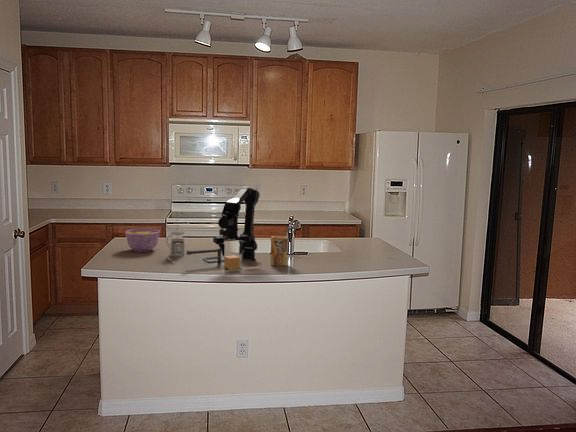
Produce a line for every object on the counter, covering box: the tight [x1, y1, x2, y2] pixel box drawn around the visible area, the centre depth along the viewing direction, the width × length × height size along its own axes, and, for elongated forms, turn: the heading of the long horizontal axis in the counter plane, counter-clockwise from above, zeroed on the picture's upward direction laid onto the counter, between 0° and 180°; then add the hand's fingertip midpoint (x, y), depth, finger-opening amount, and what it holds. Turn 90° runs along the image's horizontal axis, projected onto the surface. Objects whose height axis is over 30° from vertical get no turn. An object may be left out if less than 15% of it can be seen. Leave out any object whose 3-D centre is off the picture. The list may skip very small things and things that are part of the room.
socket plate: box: [198, 255, 224, 267], centre depth 271 cm, size 12×20×2 cm, turn 28°
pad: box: [223, 267, 244, 273], centre depth 260 cm, size 9×9×1 cm
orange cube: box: [223, 254, 241, 270], centre depth 259 cm, size 6×6×6 cm
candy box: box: [270, 235, 288, 266], centre depth 270 cm, size 9×4×15 cm, turn 89°
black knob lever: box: [186, 248, 222, 264], centre depth 260 cm, size 19×2×8 cm, turn 118°
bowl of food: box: [124, 228, 161, 253], centre depth 296 cm, size 20×20×12 cm
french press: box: [165, 212, 185, 257], centre depth 282 cm, size 10×12×25 cm
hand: (231, 255), depth 258 cm, fingers open, 9 cm apart
